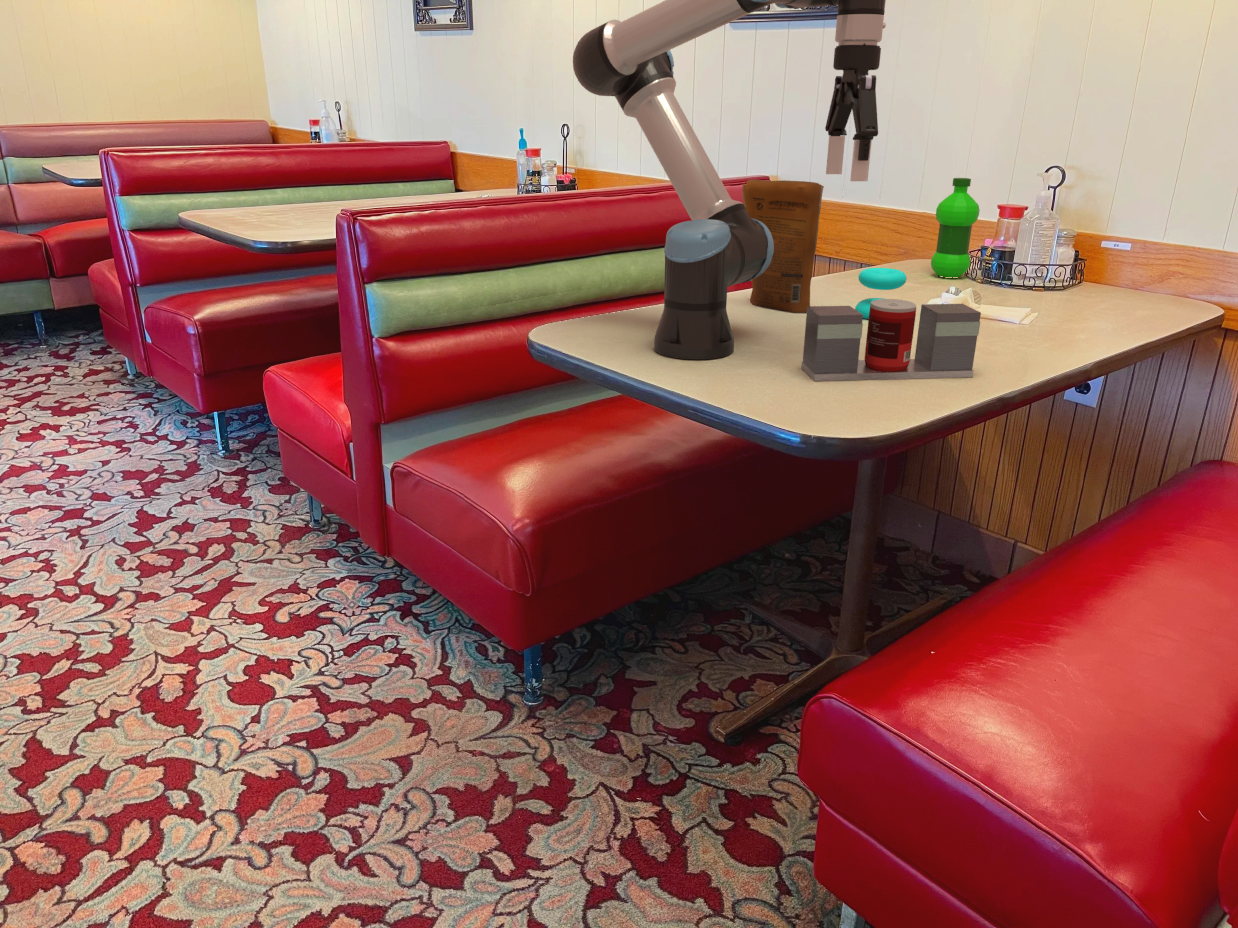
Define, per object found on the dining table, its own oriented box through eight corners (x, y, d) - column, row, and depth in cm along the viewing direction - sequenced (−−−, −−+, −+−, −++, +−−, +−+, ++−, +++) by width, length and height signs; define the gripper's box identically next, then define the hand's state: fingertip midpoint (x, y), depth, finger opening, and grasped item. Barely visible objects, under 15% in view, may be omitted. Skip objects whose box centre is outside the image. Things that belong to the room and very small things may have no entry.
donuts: (906, 268, 202) (908, 276, 193) (900, 313, 206) (902, 323, 197) (859, 265, 204) (859, 274, 195) (854, 310, 208) (854, 320, 199)
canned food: (900, 359, 166) (908, 298, 162) (915, 372, 159) (923, 308, 154) (858, 359, 166) (864, 298, 162) (870, 372, 158) (878, 308, 154)
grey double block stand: (814, 381, 158) (819, 316, 153) (801, 368, 165) (806, 305, 161) (972, 377, 160) (982, 313, 156) (952, 364, 168) (961, 303, 163)
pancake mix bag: (804, 317, 202) (815, 183, 191) (734, 304, 214) (740, 177, 203) (821, 312, 206) (832, 181, 196) (751, 299, 218) (758, 175, 208)
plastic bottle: (941, 272, 252) (954, 176, 243) (977, 277, 245) (991, 179, 235) (920, 276, 246) (932, 178, 237) (956, 282, 239) (970, 181, 229)
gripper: (908, 41, 143) (893, 184, 151) (855, 47, 166) (843, 171, 174) (861, 41, 142) (848, 184, 150) (814, 47, 165) (804, 171, 173)
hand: (845, 177), depth 162 cm, fingers open, 13 cm apart
